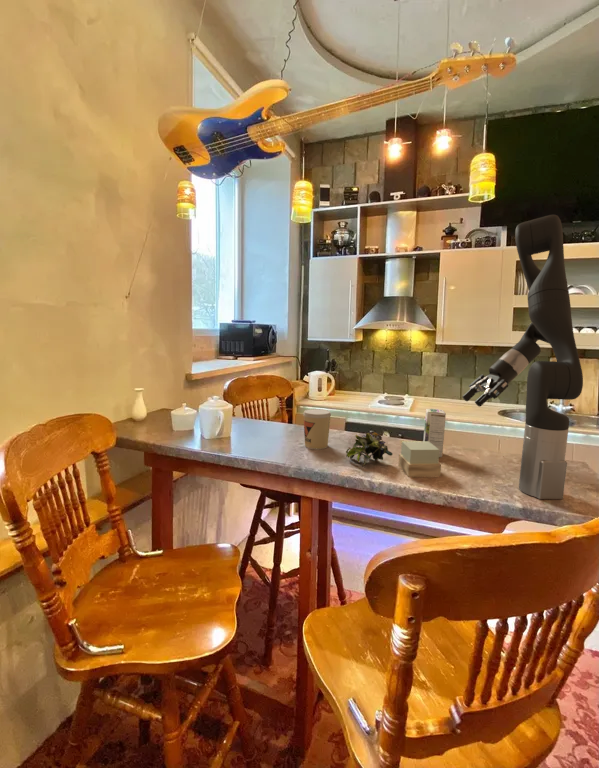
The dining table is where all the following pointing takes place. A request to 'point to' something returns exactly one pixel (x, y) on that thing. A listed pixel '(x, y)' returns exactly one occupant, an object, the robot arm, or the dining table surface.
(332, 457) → the dining table surface
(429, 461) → the tower top
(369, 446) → the passion flower
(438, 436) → the syrup box
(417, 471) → the tower base
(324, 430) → the coffee cup
